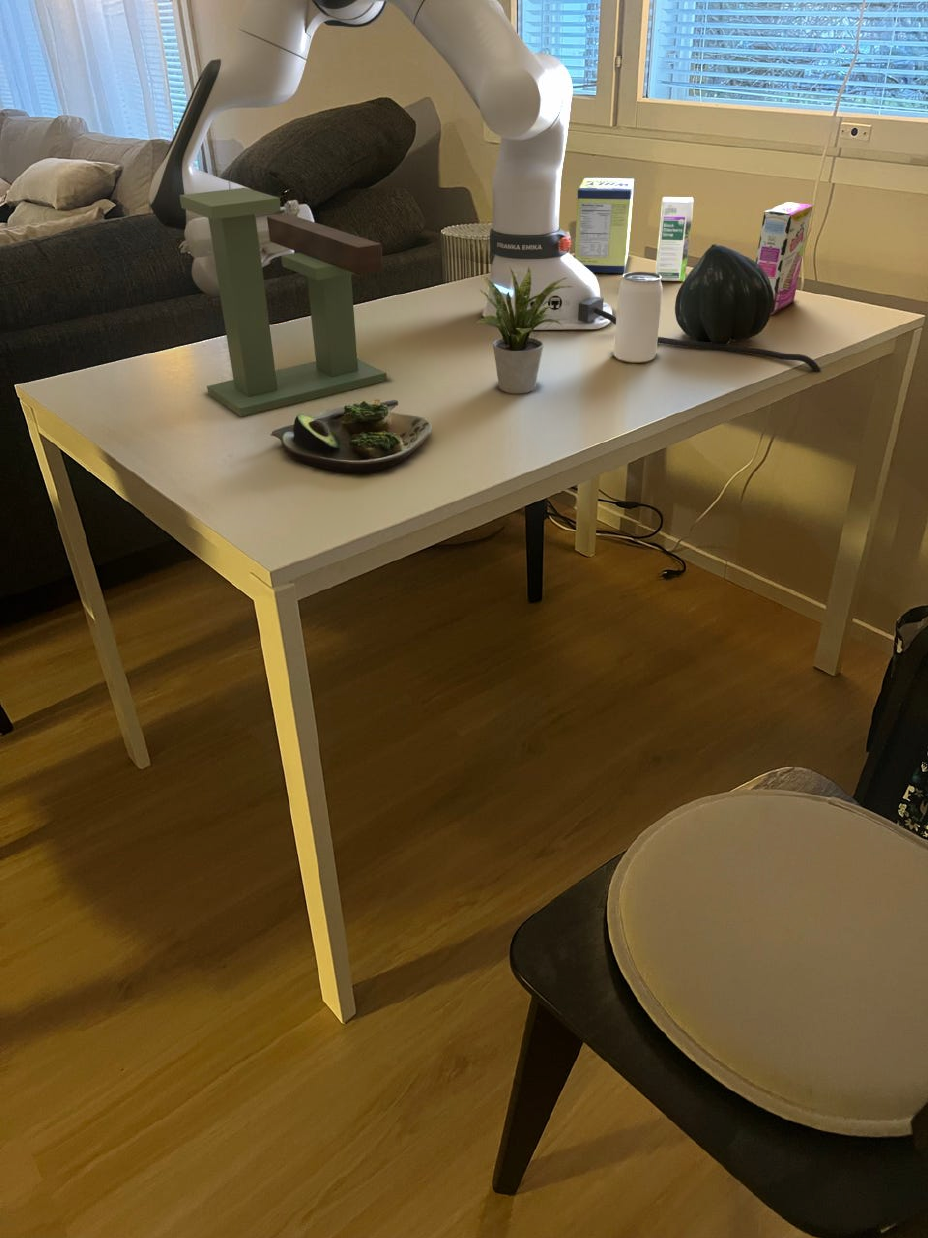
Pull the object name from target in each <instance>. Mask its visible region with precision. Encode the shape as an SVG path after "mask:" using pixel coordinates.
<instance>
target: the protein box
mask: <svg viewBox="0 0 928 1238" xmlns="http://www.w3.org/2000/svg"><path fill="white" fill-rule="evenodd" d="M634 188H635V178H634V177H591V176H585V177H583V180H582V182H581V184H580V185H579V186H578V188H577V198H576V200H577V202H576V221H575V222H576V224H575V240H574V241H575V242H574V258H576V259H577V260H578V261H579V262H580V263H581V264H582V265H584V266H585V267H586V268H587V269H588V270H589V271H591V272H592V273H593V274H595V273H597V274H607V273H608V274H622V275H624V274H626V273H625V272H626V268H627V264H628V259H629V248H630V236H631V226H632V215H633V214H632V213H633V201H634V199H633V198H634Z"/></svg>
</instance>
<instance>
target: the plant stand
mask: <svg viewBox="0 0 928 1238" xmlns="http://www.w3.org/2000/svg"><path fill="white" fill-rule="evenodd" d="M248 188H249V187H247V188H236V189H228V190H220V191H211V192H203V193H194V194H186V195H179V196H180V202H181V208H183V209H186V210H188V211H191V212H194V213H197V214H199V215H202V216H205V217H207V218H208V220H209V226H210V232H211V239H212V245H213V252H214V258H215V265H216V271H217V277H218V284H219V290H220V297H219V298H220V302H221V309H222V315H223V321H224V328H225V335H226V341H227V347H228V354H229V355H228V356H229V361H230V367H231V374H232V379H231V380H227V381H222V382H217V383H214V384H209V385H207V386H206V389H207V390H206V391H207V395H209V396H210V397H212V398H213V399H215V400H216V401H217V402H219V403H221V404H222V405H223V406H225V407H226V408H227V409H229V410H230V411H232V412H234V413H235V415H238V416H239V417H240V418H242V417H246V416H247V417H248V416H250V415H254V414H259V413H263V412H267V411H270V410H274V409H278V408H283V407H286V406H290V405H295V404H298V403H304V402H306V401H310V400H315V399H318V398H322V397H326V396H331V395H334V394H335V395H336V394H339V393H342V392H347V391H350V390H355V389H359V388H363V387H366V386H371V385H375V384H379V383H384V382H387V380H388V379H387V372H385V371H383V370H381V369H380V368H377V367H375V366H373V365H371V364H369V363H367V362H365V361H364V360H361V359H359V358H358V349H357V337H356V327H355V326H356V324H355V323H356V322H355V312H354V311H355V309H354V298H353V285H352V275H355V273H352V272H350V271H347V270H344V269H342V268H339V267H336V266H334V265H331V264H328V263H326V262H323V261H321V260H318V259H315V258H313V257H310V256H307V255H305V254H302V253H299V252H294V253H292V254H286V255H281V258H282V260H281V266H282V267H283V268H286V269H288V270H290V271H293V272H295V273H298V274H300V275H303V276H305V277H306V279H307V289H308V298H309V308H310V309H309V310H310V317H311V319H310V320H311V325H312V326H311V327H312V336H313V337H312V339H313V346H314V356H315V361H310V362H307V363H302V364H297V365H293V366H288V367H285V368H280V369H276V365H275V357H274V349H273V341H272V335H271V333H272V332H271V326H270V325H271V324H270V319H269V318H270V317H269V310H268V303H267V296H266V287H265V280H264V272H263V267H262V263H261V255H260V248H259V240H258V232H257V224H256V216H255V214H260V213H268V212H275V211H281V208H280V207H281V199H280V197H279V196H278V197H277V196H274V195H271V194H267V193H265V192H261V191H258V190H255V189H252V188H250V189H248ZM251 189H252V190H251Z"/></svg>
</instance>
